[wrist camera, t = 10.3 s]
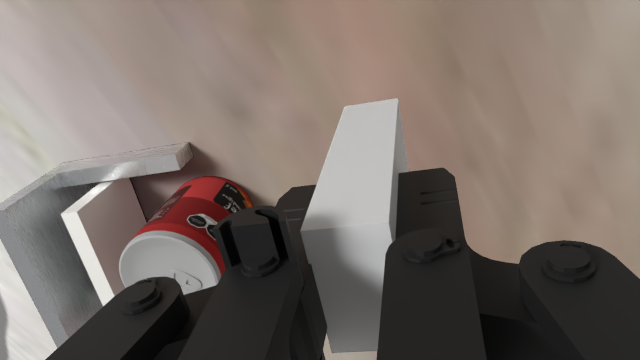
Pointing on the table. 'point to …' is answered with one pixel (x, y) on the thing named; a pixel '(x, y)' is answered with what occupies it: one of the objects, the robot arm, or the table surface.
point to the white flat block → (104, 231)
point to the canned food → (184, 236)
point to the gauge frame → (53, 236)
